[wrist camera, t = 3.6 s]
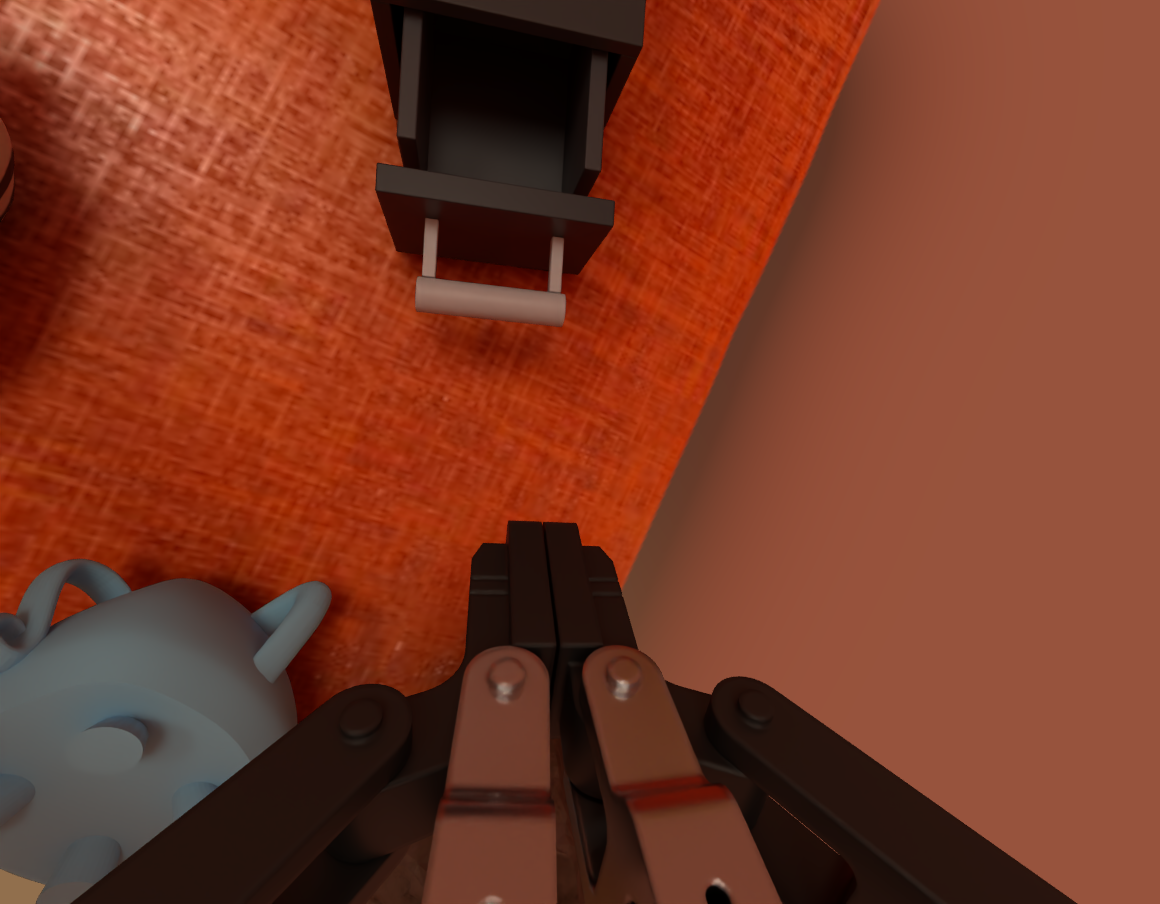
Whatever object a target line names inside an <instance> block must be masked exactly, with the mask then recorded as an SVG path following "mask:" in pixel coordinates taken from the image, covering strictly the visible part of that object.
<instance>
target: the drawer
mask: <svg viewBox="0 0 1160 904" xmlns="http://www.w3.org/2000/svg"><path fill="white" fill-rule="evenodd" d="M607 67H608V51H603V50H599V49H594V48H590V47H585V46H581V45H576V44H572V43H567V42H563V41H558V40H554V39H549V38H544V37H540V36H535V35H531V34H526V33H522V32H517V31H513V30H508V29H504V28H499V27H495V26H490V25H485V24H481V23H476V22H472V21H467V20H463V19H458V18H454V17H449V16H445V15H440V14H436V13H431V12H426V11H422V10H417V9H413V8H408V7H404V16H403V33H402V51H401V69H400V86H399V104H398V122H397V139H398V144H399V148H400V153H401V158H402V162H403V167H401V166H395V165H388V164H382V163H377V169H376V186H375V190H376V193H377V196H378V199H379V202H380V205H381V208H382V210H383V213H384V216H385V219H386V222H387V225H388V228H389V231H390V233H391V236H392V239H393V242H394V245H395V248H396V251H398V252H405V253H413V254H421V255H423V266H422V277H417V281H416V292H415V307H416V311H417V312H426V313H435V314H444V315H454V316H463V317H472V318H482V319H491V320H500V321H509V322H519V323H528V324H537V325H547V326H556V327H562V325H563V322H564V318H565V311H566V297H565V294H560V292H561V283H562V273H568V274H576V275H578V274H579V273H580V271H581V270H582V269H583V267H584V266H585V264H586V263H587V262H588V260H589V259H590V258H591V256H592V255H593V253H594V252H595V251H596V249H597V248H598V247H599V245H600V244H601V242H602V241H603V240H604V238H605V237H606V236H607V234H608V233H609V231H610V230H611V229H612V227H613V225H614V209H615V201H612V200H606V199H600V198H594V197H587V196H588V194H589V192H590V191H591V189H592V187H593V185H594V183H595V181H596V179H597V177H598V175H599V173H600V172H601V163H602V147H603V131H604V115H605V99H606V83H607ZM437 257H444V258H452V259H460V260H467V261H475V262H483V263H491V264H498V265H506V266H514V267H522V268H529V269H537V270H545V271H549V276H548V292H543V291H535V290H527V289H518V288H510V287H502V286H494V285H485V284H477V283H469V282H460V281H452V280H444V279H436V266H437Z"/></svg>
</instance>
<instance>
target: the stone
mask: <svg viewBox="0 0 1160 904" xmlns="http://www.w3.org/2000/svg"><path fill="white" fill-rule="evenodd" d="M563 774H564V763H563V755H562V746H561V739H550V794H551V799H553V800H554V804H555V815H556V865H557V904H585V903H584V894H583V888H582V883H581V877H580V872H579V866H578V861H577V855H576V850H575V844H574V838H573V833H572V827H571V822H570V816H569V811H568V805H567V800H566V794H565V789H564V782H563ZM432 838H433V835H432V836H429V837H427V838H424V839H422V840H420V841H417V842H415V843H413V844H410V846H409V849H408V850H407V852H406V854H405V856H404V857H403V859H402V860H401V862H400V863H399V864H398V865H397V866H396V868H395V869H394V870H393V871H392V873H391V874H390V875H389V876H388V877H387V879H386V880H385V881H384V882H383V883H382V885H381V886H380V887H379V888H378V889H377V891H376V892H375V893H374V894H373V895H372V897H371V898H370V899H369V900H368V901H367V903H366V904H421V903H422V897H423V891H424V885H425V879H426V873H427V867H428V862H429V856H430V850H431V844H432Z"/></svg>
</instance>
